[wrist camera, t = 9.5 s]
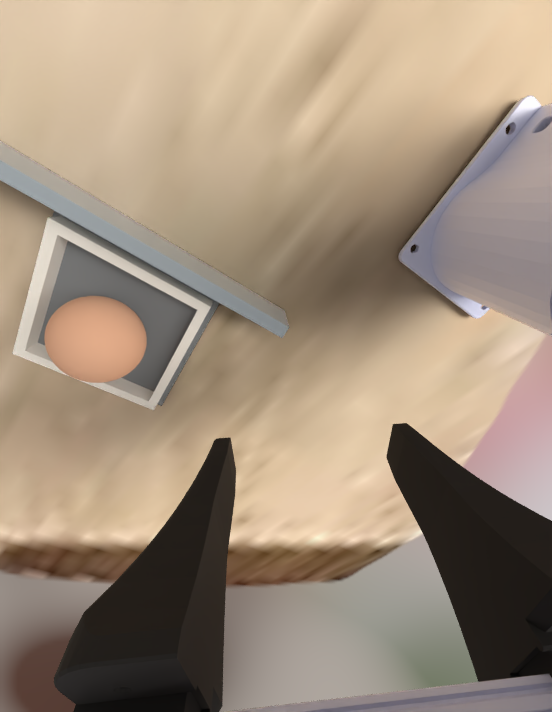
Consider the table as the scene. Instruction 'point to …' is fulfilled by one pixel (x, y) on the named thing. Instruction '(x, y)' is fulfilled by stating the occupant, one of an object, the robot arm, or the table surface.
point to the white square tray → (125, 284)
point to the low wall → (135, 238)
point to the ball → (95, 339)
